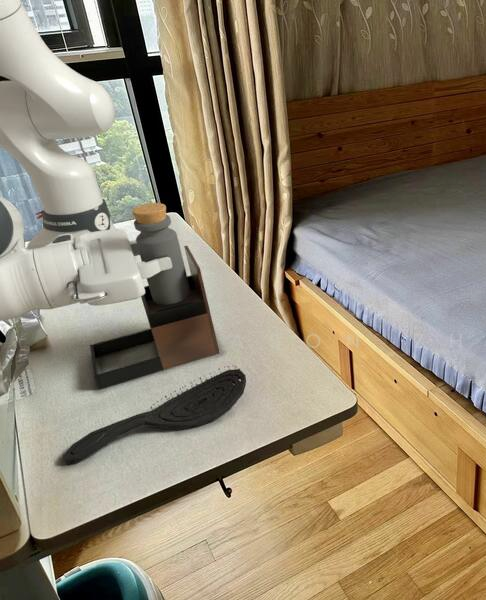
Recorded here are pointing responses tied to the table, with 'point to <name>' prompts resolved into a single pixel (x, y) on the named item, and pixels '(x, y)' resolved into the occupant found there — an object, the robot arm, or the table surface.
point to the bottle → (161, 253)
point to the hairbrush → (185, 408)
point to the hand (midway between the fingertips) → (167, 252)
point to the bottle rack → (164, 334)
